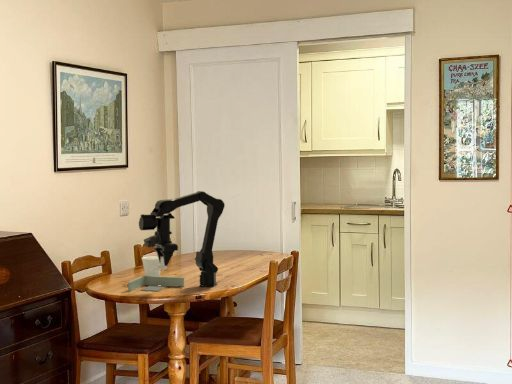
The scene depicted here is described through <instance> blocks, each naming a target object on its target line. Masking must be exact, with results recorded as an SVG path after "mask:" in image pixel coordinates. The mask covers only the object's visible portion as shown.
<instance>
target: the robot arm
mask: <svg viewBox="0 0 512 384" xmlns="http://www.w3.org/2000/svg"><path fill="white" fill-rule="evenodd" d="M199 202H201V203H202V204H203V205H205V206H206V215H207V221H206V226H205V232H204V236H203V241H202V244H201V245H202V246H201V249H200V250H199V251H196V252H195V258H194V261H195V265H196V266H197V267H198V269H199V271H200V274H199V287H211V288H212V287H215V286H217V285H218V282H217V273H218V271H219V267H217V265H215V263H214V253H213V249H214V248H213V247H214V243H215V237H216V233H217V227H218V223H219V219H220V218H221V216H222V214H223V212H224V209H225V202H224V201H223V200H222V199H220V198H216V197H214V196H212V195H210V194H209V193H206V191H202V190H200V191H196V192H193V193H190V194H187V195H183V196H180V197H176V198H171V199H160V200H157V201H156V203H155V204H154V208H153V209H152V211H151V212H150V214H143V213H142V214H140V217H139V220H138V228H139V230H140V231H154V230H155V229H156V231H154V235H150V236H149V237H146V238H144V239H143V242H144V245H145V247H147V248H152V250H154V251H155V252H156V254H157V255H156V256H158V258H159V262H160V256H163V258H164V265H165V266H167V267H168V265H169V262H170V260H171V258H172V256H173V254H174V253H175V252H176V251H179V246H178V245H177V243H175V242H172V240H171V235H172V233H173V232H172V231H171V219H175V216H174V215H173V214H172V212H173V211H175V210H177V209H178V208H180V207H184V206H188V205H191V204H194V203H199Z"/></svg>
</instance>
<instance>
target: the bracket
mask: <svg viewBox="0 0 512 384" xmlns="http://www.w3.org/2000/svg"><path fill="white" fill-rule="evenodd" d="M150 269H152V270H161V271H162V270H163V271H164V270H168V265H167V266H165V265H164V258H163V256H160V266H150Z"/></svg>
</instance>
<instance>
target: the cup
mask: <svg viewBox="0 0 512 384" xmlns="http://www.w3.org/2000/svg"><path fill="white" fill-rule="evenodd" d="M141 260H142V266H143V270H144V271H143V272H144V276H161V271H162V270H152V269H150V266H160V262H159V258H158V255H155V256H154V255H151V256H143V257H141Z"/></svg>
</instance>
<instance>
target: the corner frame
mask: <svg viewBox="0 0 512 384" xmlns="http://www.w3.org/2000/svg"><path fill="white" fill-rule="evenodd" d="M150 285H161V286H167V287H178V286H181V287H185V277H183V276H181V277H180V276H162V275H160V276H145V275H142V276H139V277H137V278H134V279H132V280H130V281H129V280H128V282H127V287H128V290H127V291H128V292H133V291H135V290H137V289H139V288H141V286H142V287H144V286H150Z"/></svg>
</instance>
